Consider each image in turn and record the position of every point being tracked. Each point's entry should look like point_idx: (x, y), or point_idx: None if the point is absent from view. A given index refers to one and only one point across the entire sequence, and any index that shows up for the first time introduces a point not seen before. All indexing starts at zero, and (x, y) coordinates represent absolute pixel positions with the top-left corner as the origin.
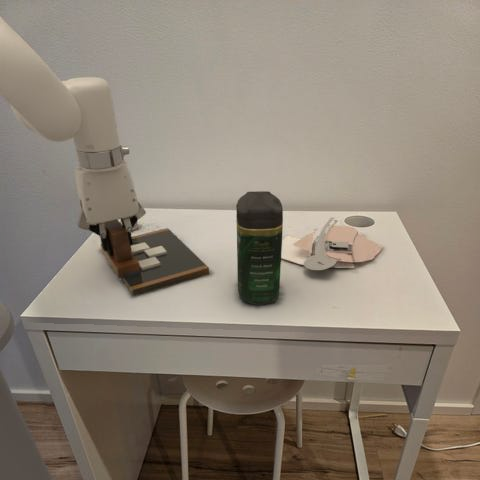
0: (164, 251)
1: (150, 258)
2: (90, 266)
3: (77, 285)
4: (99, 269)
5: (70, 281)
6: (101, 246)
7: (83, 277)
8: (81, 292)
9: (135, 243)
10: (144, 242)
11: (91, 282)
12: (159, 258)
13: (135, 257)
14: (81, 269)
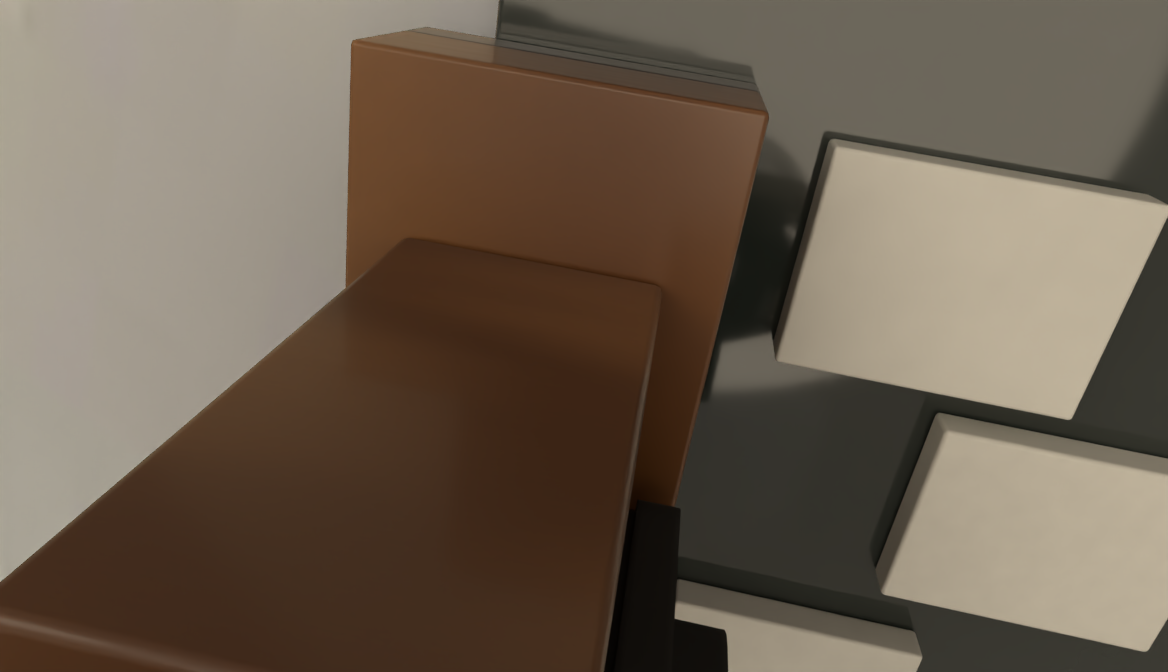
0: (1117, 645)
1: (849, 653)
2: (257, 53)
3: (62, 356)
4: (334, 208)
5: (3, 236)
6: (358, 100)
7: (136, 253)
8: (84, 484)
9: (1063, 23)
10: (1153, 214)
11: (194, 398)
12: (961, 651)
13: (755, 440)
14: (142, 51)
